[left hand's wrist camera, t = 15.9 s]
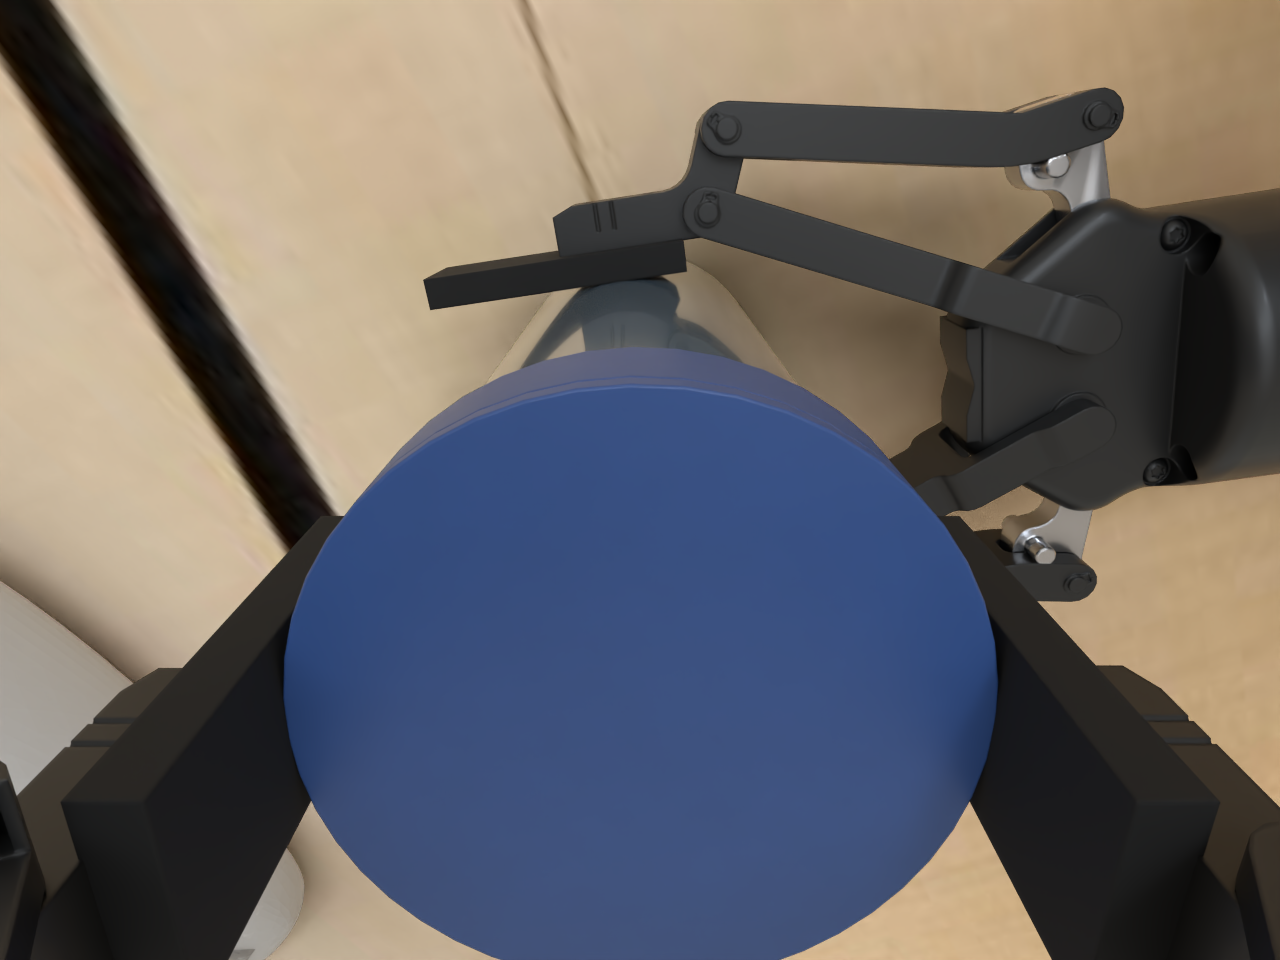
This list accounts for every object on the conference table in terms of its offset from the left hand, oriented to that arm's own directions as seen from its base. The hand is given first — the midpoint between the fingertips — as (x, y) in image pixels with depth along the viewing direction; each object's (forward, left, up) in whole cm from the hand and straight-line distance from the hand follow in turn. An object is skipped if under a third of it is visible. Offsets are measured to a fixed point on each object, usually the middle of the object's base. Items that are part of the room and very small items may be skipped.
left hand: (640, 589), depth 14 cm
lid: (0, 0, +3) cm, 3 cm away
